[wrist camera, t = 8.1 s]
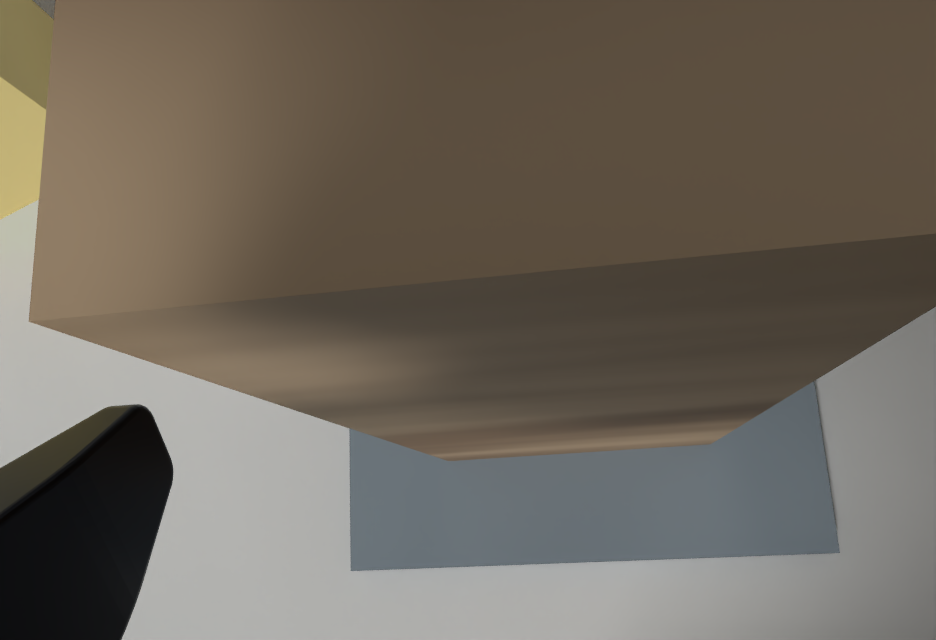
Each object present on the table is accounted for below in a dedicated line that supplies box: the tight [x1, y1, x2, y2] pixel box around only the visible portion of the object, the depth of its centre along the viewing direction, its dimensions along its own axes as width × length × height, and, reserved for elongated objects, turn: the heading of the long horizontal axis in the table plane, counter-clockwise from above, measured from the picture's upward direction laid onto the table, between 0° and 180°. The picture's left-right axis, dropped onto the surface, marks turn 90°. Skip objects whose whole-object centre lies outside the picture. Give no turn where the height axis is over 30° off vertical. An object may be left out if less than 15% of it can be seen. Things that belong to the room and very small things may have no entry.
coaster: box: [350, 381, 840, 571], centre depth 16 cm, size 9×9×1 cm
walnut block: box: [29, 0, 936, 461], centre depth 10 cm, size 5×5×12 cm
